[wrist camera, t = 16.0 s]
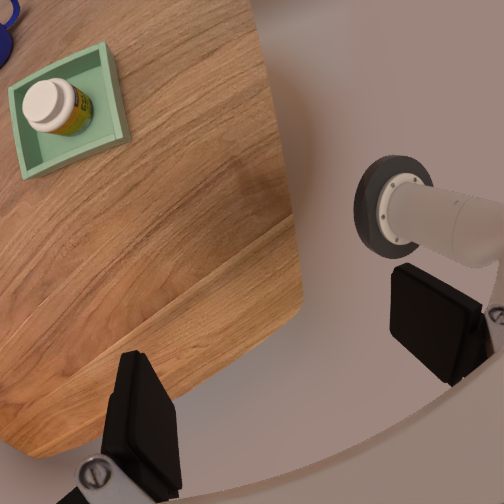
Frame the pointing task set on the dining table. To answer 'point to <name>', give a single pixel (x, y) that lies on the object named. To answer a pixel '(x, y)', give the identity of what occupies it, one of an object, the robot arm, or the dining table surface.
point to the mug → (3, 42)
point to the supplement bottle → (57, 108)
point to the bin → (98, 131)
